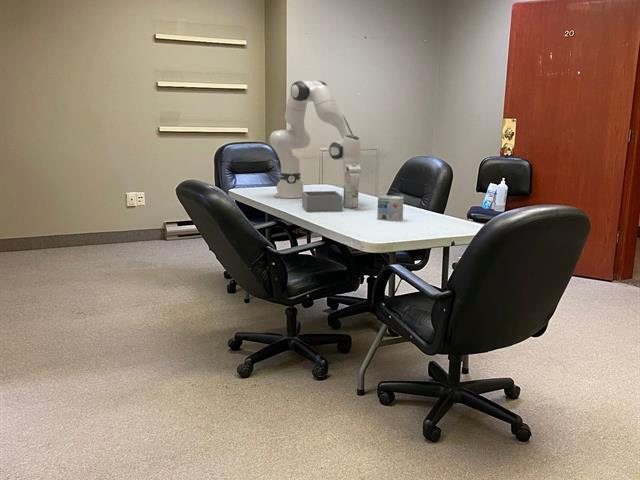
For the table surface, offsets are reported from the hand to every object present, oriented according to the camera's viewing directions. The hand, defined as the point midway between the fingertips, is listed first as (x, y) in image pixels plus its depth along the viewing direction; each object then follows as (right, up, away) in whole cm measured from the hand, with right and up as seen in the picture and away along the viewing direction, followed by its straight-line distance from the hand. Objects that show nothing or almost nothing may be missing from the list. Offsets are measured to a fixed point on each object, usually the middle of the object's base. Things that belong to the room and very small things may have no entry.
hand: (350, 193), depth 310 cm
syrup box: (0, -7, +2) cm, 7 cm away
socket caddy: (-15, -8, -3) cm, 18 cm away
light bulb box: (+17, -15, -31) cm, 39 cm away
